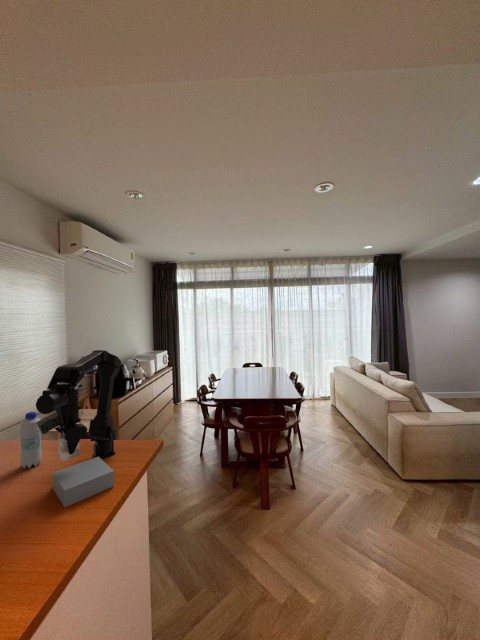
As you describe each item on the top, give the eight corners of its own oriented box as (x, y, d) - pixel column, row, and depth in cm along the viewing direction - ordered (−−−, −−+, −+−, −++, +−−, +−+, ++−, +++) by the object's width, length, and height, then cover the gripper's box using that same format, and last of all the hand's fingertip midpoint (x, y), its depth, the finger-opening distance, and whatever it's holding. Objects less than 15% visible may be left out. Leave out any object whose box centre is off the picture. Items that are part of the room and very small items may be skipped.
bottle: (46, 462, 105) (46, 410, 105) (28, 471, 99) (27, 415, 99) (34, 459, 108) (33, 408, 108) (15, 468, 101) (15, 414, 101)
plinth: (98, 470, 99) (98, 456, 99) (114, 486, 89) (113, 470, 89) (52, 487, 89) (52, 472, 89) (64, 507, 79) (64, 490, 79)
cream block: (75, 450, 94) (75, 433, 94) (79, 455, 90) (79, 437, 90) (58, 456, 90) (58, 437, 90) (62, 461, 87) (61, 442, 87)
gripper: (34, 403, 92) (34, 450, 91) (44, 416, 78) (45, 471, 78) (72, 396, 99) (72, 439, 99) (87, 407, 86) (88, 457, 86)
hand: (69, 451), depth 90 cm, fingers closed on cream block, 5 cm apart
